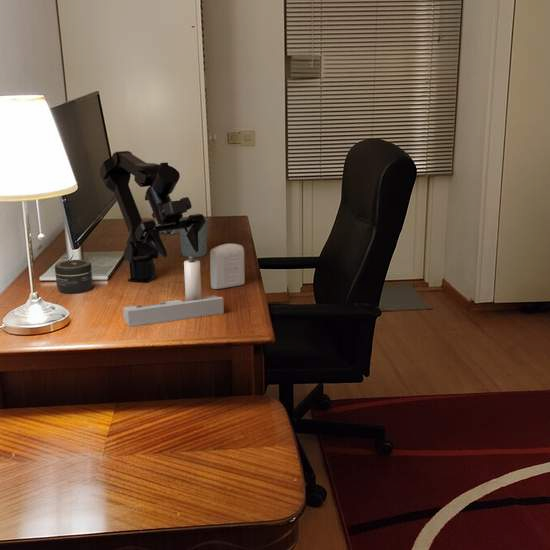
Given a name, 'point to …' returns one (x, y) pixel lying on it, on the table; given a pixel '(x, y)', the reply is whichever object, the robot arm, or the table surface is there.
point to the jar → (73, 276)
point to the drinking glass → (186, 245)
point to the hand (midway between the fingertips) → (181, 254)
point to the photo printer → (227, 266)
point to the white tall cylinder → (192, 279)
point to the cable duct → (173, 311)
